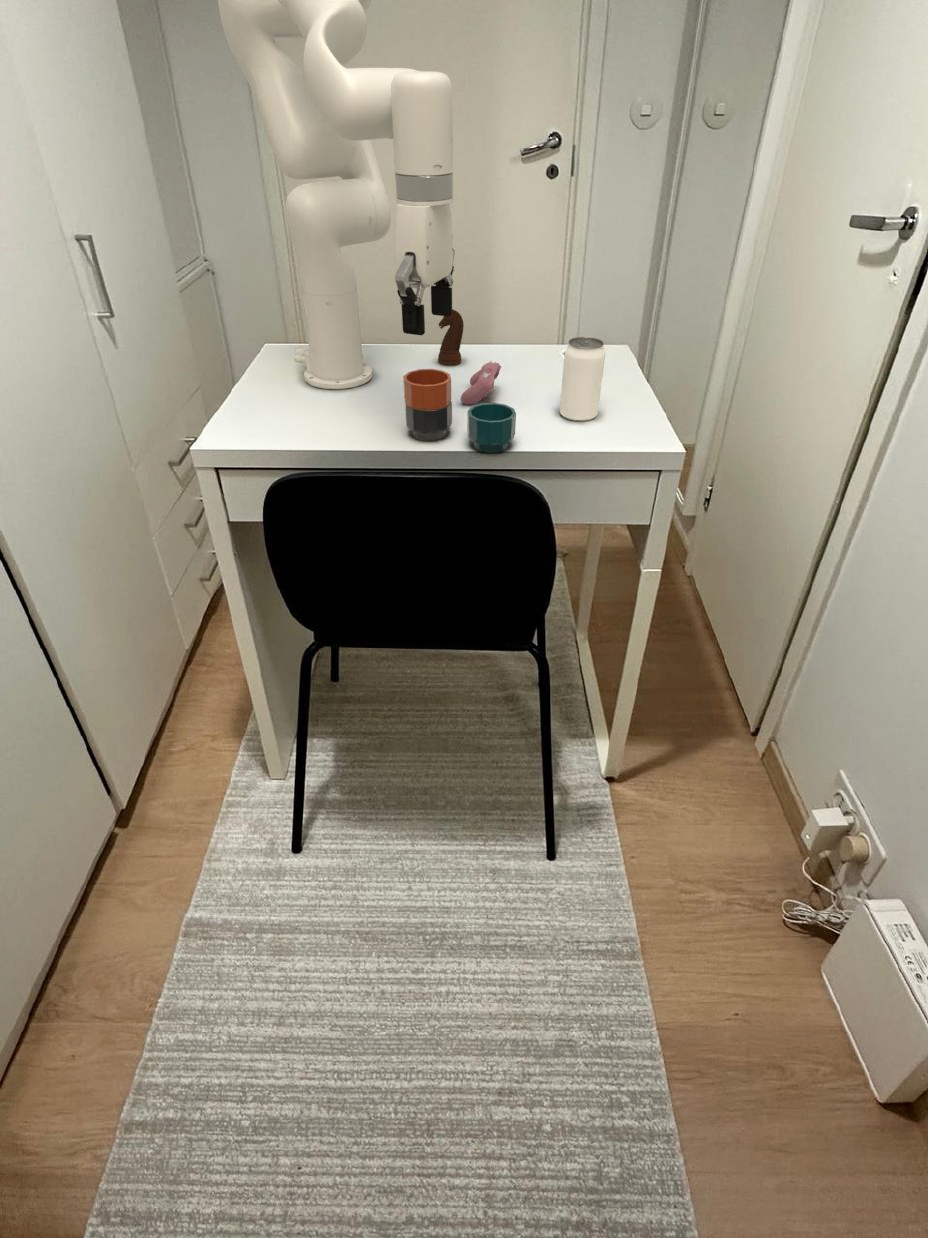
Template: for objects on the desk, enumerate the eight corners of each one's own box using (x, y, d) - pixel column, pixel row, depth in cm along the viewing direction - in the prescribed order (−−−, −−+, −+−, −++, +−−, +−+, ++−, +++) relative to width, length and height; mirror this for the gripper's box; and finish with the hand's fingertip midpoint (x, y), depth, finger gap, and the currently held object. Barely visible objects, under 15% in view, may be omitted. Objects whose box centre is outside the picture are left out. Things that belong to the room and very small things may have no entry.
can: (573, 424, 119) (580, 351, 112) (551, 410, 124) (557, 339, 116) (605, 417, 122) (614, 345, 114) (583, 404, 126) (591, 333, 119)
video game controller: (480, 415, 126) (499, 381, 122) (457, 402, 125) (476, 367, 121) (490, 394, 134) (508, 361, 129) (468, 381, 133) (486, 348, 129)
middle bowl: (397, 415, 113) (395, 381, 109) (417, 399, 118) (416, 366, 115) (439, 423, 111) (439, 388, 107) (458, 406, 116) (458, 372, 112)
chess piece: (443, 356, 145) (442, 304, 139) (467, 360, 144) (467, 307, 137) (434, 364, 142) (433, 310, 135) (458, 367, 140) (458, 313, 134)
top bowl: (460, 450, 112) (460, 417, 108) (477, 432, 117) (478, 400, 114) (504, 458, 110) (505, 424, 106) (520, 439, 115) (521, 407, 112)
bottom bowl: (399, 438, 115) (397, 406, 112) (418, 421, 120) (417, 389, 117) (440, 446, 113) (440, 413, 110) (458, 428, 118) (458, 396, 115)
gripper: (426, 178, 103) (429, 306, 113) (367, 196, 90) (377, 338, 101) (475, 181, 100) (474, 311, 111) (422, 200, 88) (427, 344, 98)
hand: (428, 324), depth 106 cm, fingers open, 9 cm apart
